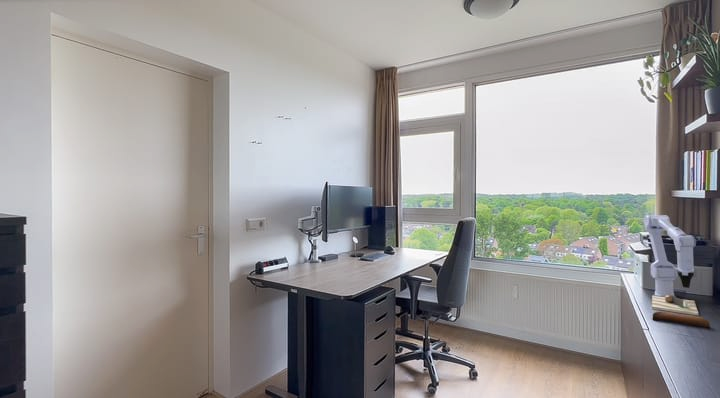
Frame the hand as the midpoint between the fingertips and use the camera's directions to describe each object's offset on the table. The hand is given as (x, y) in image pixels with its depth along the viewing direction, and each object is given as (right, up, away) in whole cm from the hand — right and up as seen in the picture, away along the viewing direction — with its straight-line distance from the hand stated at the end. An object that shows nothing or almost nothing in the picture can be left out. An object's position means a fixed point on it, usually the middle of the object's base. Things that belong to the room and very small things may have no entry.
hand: (686, 287), depth 166 cm
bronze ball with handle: (-5, -8, -1) cm, 10 cm away
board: (-5, -10, +1) cm, 11 cm away
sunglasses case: (-21, -11, -19) cm, 31 cm away
